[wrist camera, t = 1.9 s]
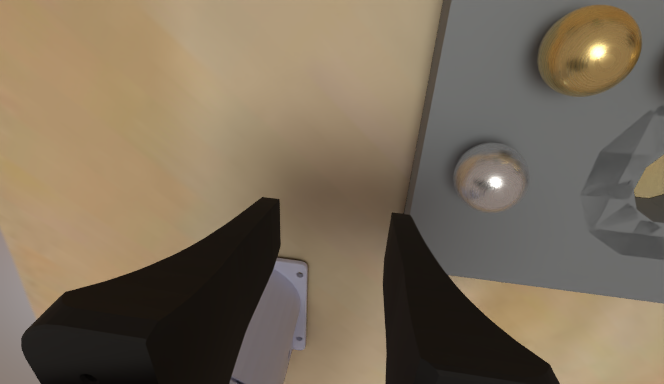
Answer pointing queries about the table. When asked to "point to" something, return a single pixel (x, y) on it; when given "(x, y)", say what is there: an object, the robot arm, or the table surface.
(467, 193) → the ball
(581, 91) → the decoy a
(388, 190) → the table surface
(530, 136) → the plate
